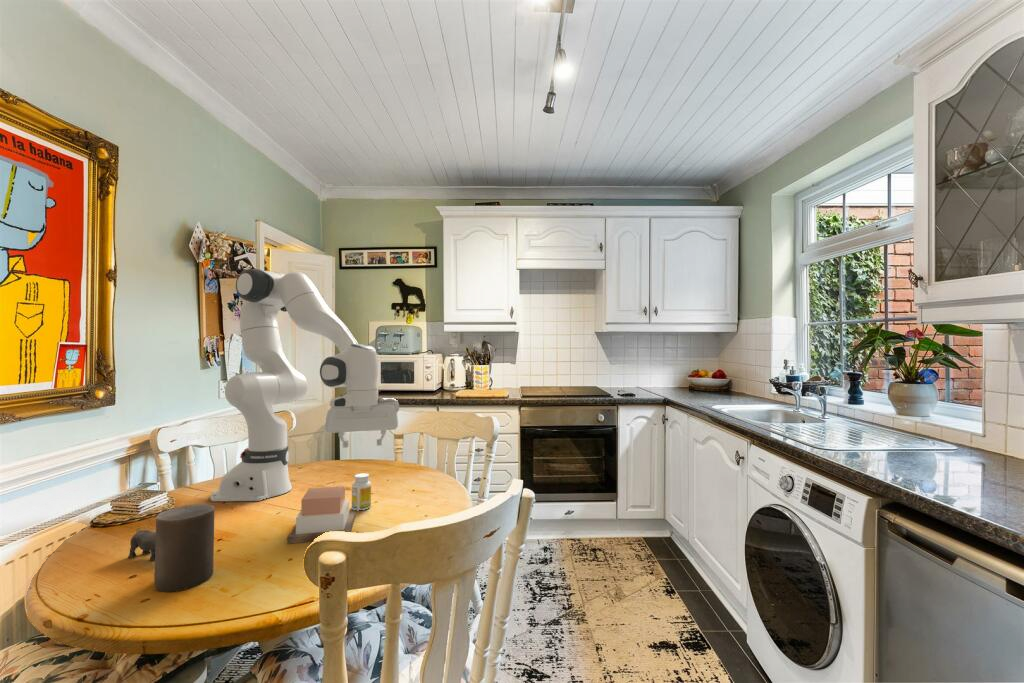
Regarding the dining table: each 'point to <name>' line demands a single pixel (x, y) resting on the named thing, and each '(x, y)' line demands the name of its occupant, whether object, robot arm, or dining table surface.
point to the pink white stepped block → (323, 510)
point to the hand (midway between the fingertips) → (362, 446)
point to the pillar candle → (184, 547)
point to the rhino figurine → (143, 543)
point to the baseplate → (311, 536)
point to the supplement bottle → (361, 492)
